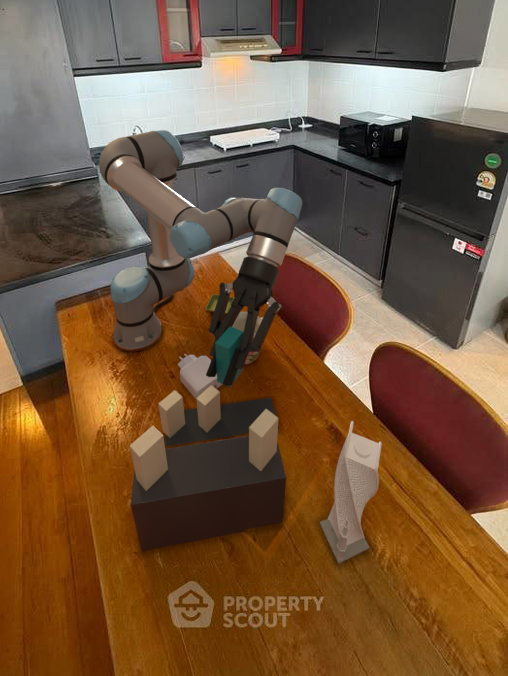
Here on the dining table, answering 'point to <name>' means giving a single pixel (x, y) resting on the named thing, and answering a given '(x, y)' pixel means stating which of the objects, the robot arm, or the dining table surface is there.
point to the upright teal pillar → (227, 352)
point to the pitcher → (240, 326)
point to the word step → (207, 486)
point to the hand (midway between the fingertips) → (218, 380)
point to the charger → (196, 374)
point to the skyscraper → (352, 495)
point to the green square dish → (213, 302)
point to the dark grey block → (208, 417)
